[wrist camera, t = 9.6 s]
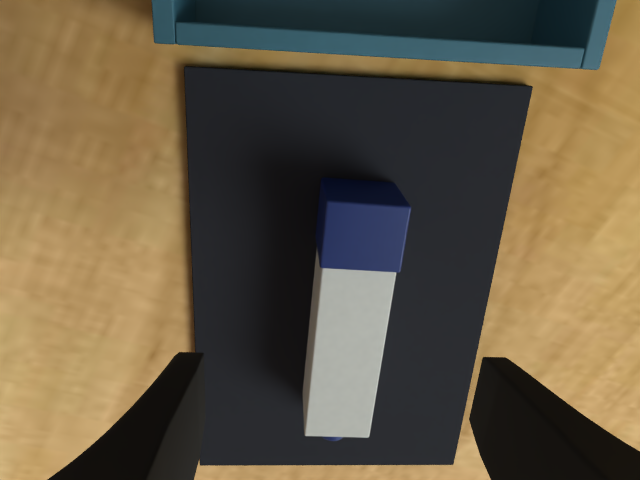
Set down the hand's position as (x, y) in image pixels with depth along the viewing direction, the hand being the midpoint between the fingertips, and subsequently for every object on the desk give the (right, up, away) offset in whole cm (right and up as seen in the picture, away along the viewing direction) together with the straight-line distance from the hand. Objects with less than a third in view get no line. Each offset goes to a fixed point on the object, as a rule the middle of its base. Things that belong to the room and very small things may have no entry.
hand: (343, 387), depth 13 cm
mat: (0, +1, +10) cm, 10 cm away
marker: (0, +1, +9) cm, 9 cm away
